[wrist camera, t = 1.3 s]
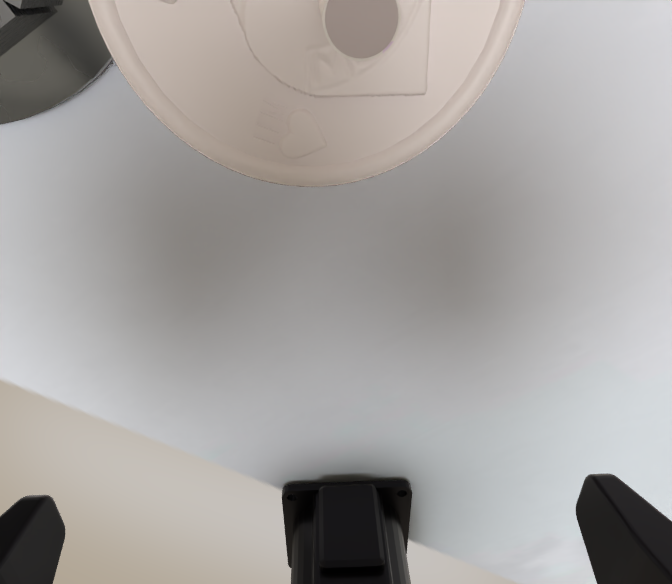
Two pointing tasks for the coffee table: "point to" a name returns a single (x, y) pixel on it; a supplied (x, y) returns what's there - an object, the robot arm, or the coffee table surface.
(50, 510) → the robot arm
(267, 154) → the smoothie
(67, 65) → the mount
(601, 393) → the coffee table surface
